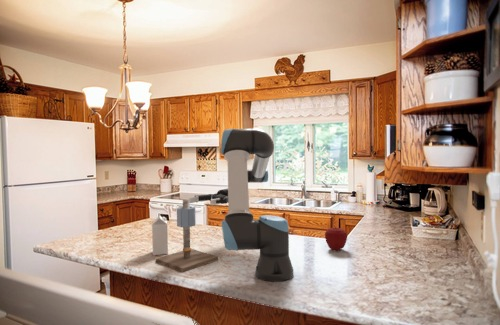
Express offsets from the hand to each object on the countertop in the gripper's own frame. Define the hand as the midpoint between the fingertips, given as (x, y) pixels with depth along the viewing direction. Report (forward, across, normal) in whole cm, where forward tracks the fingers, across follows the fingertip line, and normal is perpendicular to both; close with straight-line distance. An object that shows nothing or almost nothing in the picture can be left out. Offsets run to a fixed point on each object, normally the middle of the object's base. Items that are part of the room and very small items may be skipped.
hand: (199, 201), depth 155 cm
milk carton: (+8, +20, -26) cm, 34 cm away
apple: (-39, -55, -26) cm, 72 cm away
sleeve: (+10, 0, -9) cm, 14 cm away
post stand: (+10, 0, -26) cm, 28 cm away
